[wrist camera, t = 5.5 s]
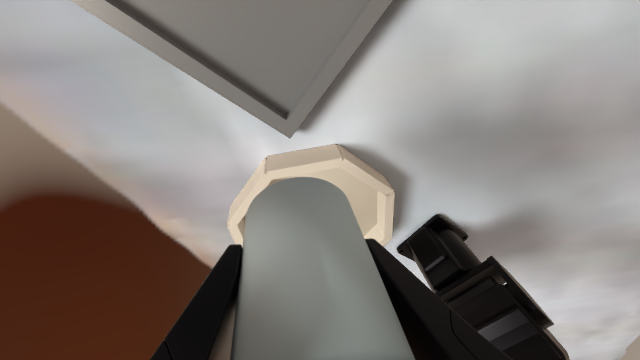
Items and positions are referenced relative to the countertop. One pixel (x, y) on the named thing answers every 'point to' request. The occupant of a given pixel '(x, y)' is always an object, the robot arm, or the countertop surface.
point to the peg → (311, 281)
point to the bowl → (335, 167)
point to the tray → (250, 46)
